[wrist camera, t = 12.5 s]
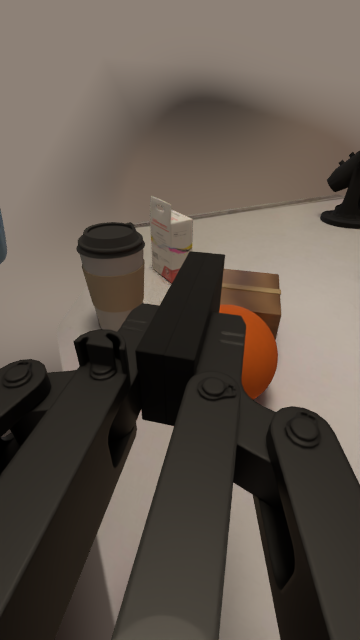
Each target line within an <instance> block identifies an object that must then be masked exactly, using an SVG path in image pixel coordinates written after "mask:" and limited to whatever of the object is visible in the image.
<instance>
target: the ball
mask: <svg viewBox="0 0 360 640" xmlns="http://www.w3.org/2000/svg"><path fill="white" fill-rule="evenodd" d="M219 313H226V314H233V315H241V316H242V318H243V320H244V322H245V323H246V336H245V345H244V357H243V368H242V386H243V388H244V390H245V392H246V393H247V394H248V396H249V397H250V398H252V399H255V398H256V397H258V396H259V395H260V394H261V393H263V392H264V390H265V389H266V388H267V387H268V385H269V384H270V382H271V381H272V379H273V377H274V374H275V371H276V367H277V361H278V353H277V346H276V341H275V339H274V336H273V334H272V332H271V330H270V328H269V327H268V326H267V324H266V323H265V322H264V321H263V320H262V319H261V318H260V317H259V316H257V315H256V314H255V313H253V312H252V311H250V310H248V309H245V308H243V307H240V306H236V305H228V304H227V305H220V310H219Z"/></svg>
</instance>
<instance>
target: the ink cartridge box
mask: <svg viewBox="0 0 360 640" xmlns="http://www.w3.org/2000/svg"><path fill="white" fill-rule="evenodd" d="M157 205H161V207H163V208H164V210H162V211H161V210H159V209H157ZM150 226H151V244H152V265H153V269H154V270H156V271H157V272H158V273H159V274H161V275H162V276H163V277H165V278H166V279H167V280H168V281H170V282H171V283H172V282H173V281H174V279H175V277H176V275H177V273H178V272H179V270H180V268H181V266H182V264H183V262H184V261H185V259H186V257H187V255H188V253H189V251H191V252H192V236H193V219H191V218H189V217H186V216H184V215H182V214H180V213H178V212H175V211H173V210H172V206H171V204H169V203H166V202H164V201H163V200H160V199H158V198H155V197H153V196H151V199H150Z"/></svg>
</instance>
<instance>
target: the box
mask: <svg viewBox="0 0 360 640" xmlns="http://www.w3.org/2000/svg"><path fill="white" fill-rule="evenodd" d="M280 295H281V290H280V289H279V275H278V274H269V273H260V272H250V271H240V270H231V269H224V270H223V280H222V290H221V300H220V305H227V304H228V305H236V306H240V307H243V308H245V309H248V310H250V311H252V312H253V313H255V314H256V315H257V316H259V317H260V318H261V319H262V320H263V321H264V322H265V323H266V324H267V326H268V327H269V328H270V330H271V332H272V334H273V336H274V339H276V335H277V331H278V327H279V322H280V318H281V304H280Z"/></svg>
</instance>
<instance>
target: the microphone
mask: <svg viewBox="0 0 360 640" xmlns="http://www.w3.org/2000/svg"><path fill="white" fill-rule="evenodd" d="M349 156H350V159H348V160H347V161H346V162H344V161H343V160H342V161H341V162H339V164H340V166H339V167H338V168H337V169H335V171H334V172H333V173H332V174H331V176H330V177H329V178H328V179H327V182H328V184H329V186H330V188H331V189H332V190H333V191H334V192H337V191H340V190H342V189H345V188H348V190H347V192H346V195H345V198H344V200H343V202H342V204H340V205H337V206H336V207H335V210H331V211H325V212H323V213H322V214H321V217H320V219H321V220H322V221H323V222H325V223H327V224H330V225H334V226H338V227H344V228H354V229H360V151H358V152H357V153H356V154H354V153H353V152H352V153H351V154H350V155H349Z"/></svg>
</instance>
